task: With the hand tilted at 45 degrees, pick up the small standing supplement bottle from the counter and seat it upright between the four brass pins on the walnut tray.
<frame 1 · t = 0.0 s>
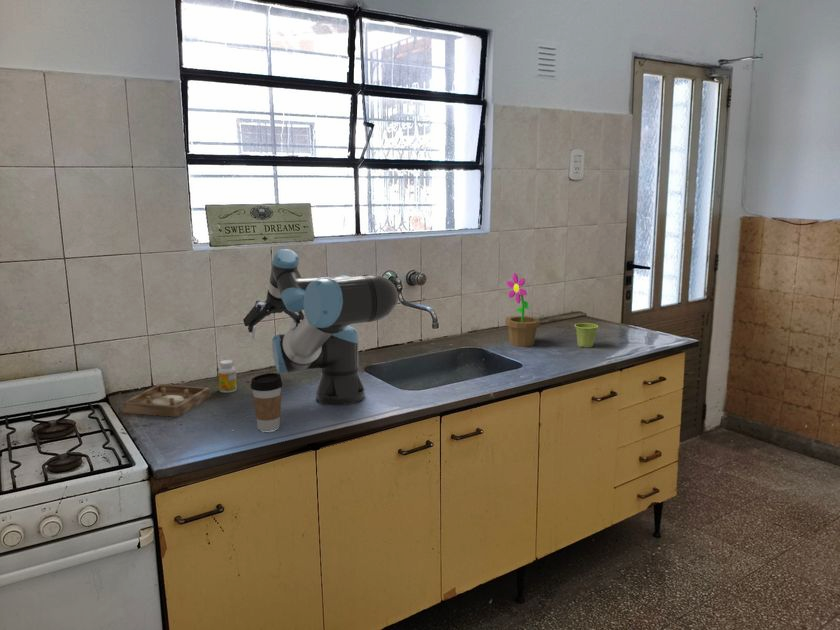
hand: (271, 335, 219), 15 cm above the worktop, tool tilted 35°, fingers open, 13 cm apart
coffee cup: (268, 429, 178), on the worktop
supplement bottle: (228, 390, 210), on the worktop
plant pot: (585, 346, 265), on the worktop
flowerpot: (521, 344, 269), on the worktop
pin tray: (168, 404, 196), on the worktop
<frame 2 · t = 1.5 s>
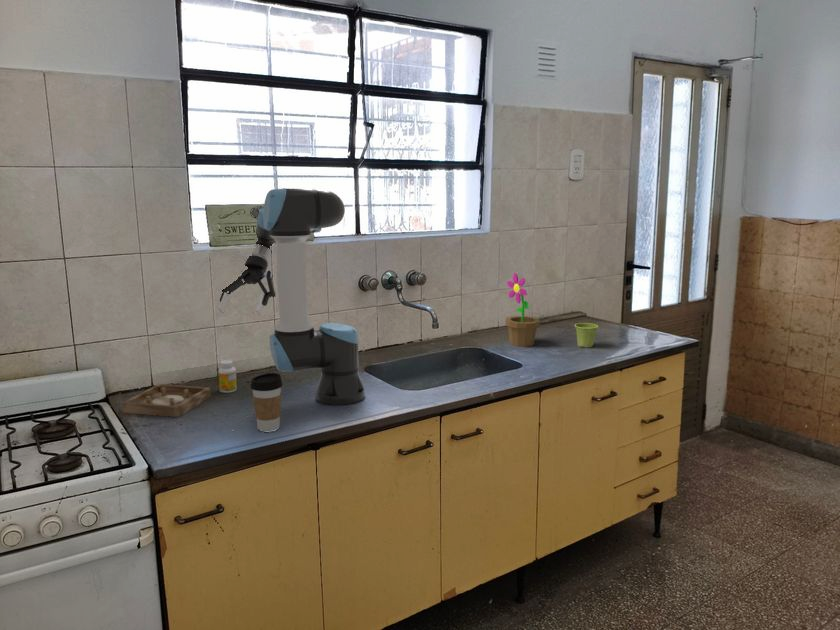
hand: (239, 311, 215), 24 cm above the worktop, tool tilted 45°, fingers open, 13 cm apart
nothing on the worktop moved.
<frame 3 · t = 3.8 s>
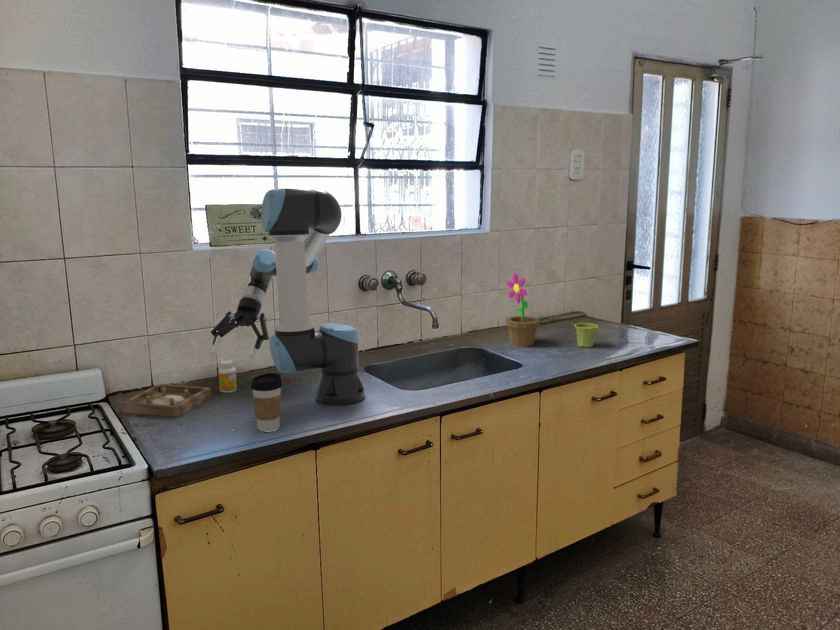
hand: (232, 355, 213), 10 cm above the worktop, tool tilted 45°, fingers open, 13 cm apart
nothing on the worktop moved.
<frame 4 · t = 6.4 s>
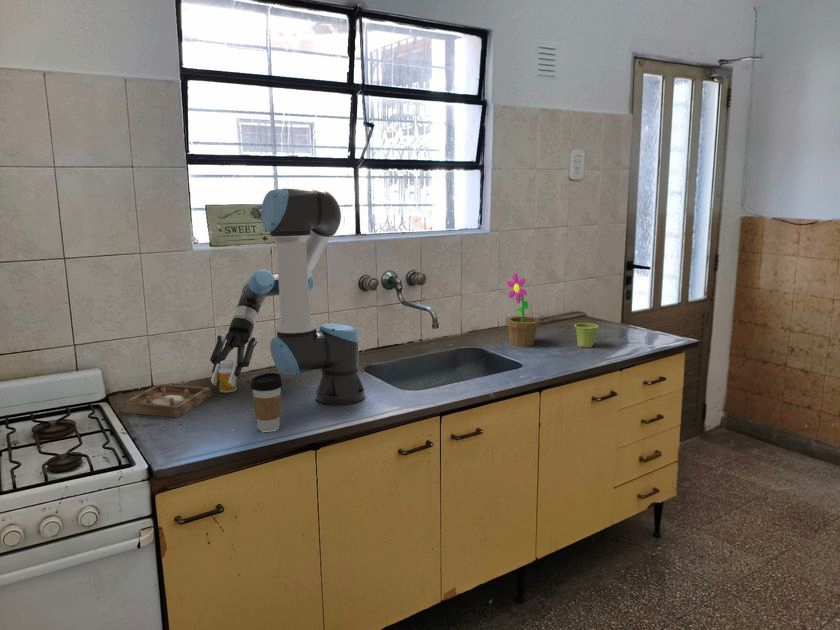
hand: (222, 383, 205), 3 cm above the worktop, tool tilted 45°, fingers closed on supplement bottle, 5 cm apart
supplement bottle: (228, 390, 210), on the worktop, touching gripper
everything else where it was.
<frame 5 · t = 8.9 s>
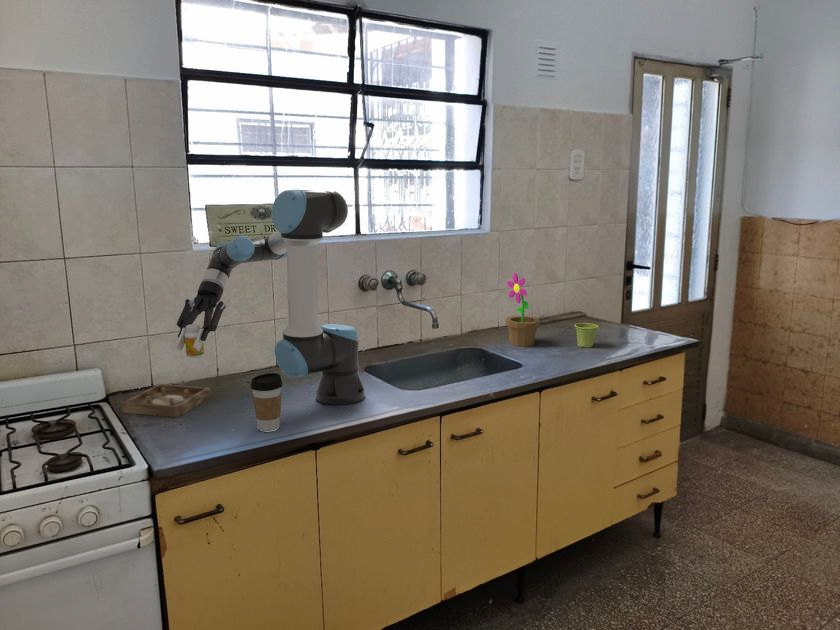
hand: (187, 348, 198), 16 cm above the worktop, tool tilted 45°, fingers closed on supplement bottle, 5 cm apart
supplement bottle: (195, 355, 203), point 13 cm above the worktop, touching gripper
everything else where it was.
when the fingers open (6 cm above the worktop, at t = 11.4 s): supplement bottle stays where it is, resting on pin tray.
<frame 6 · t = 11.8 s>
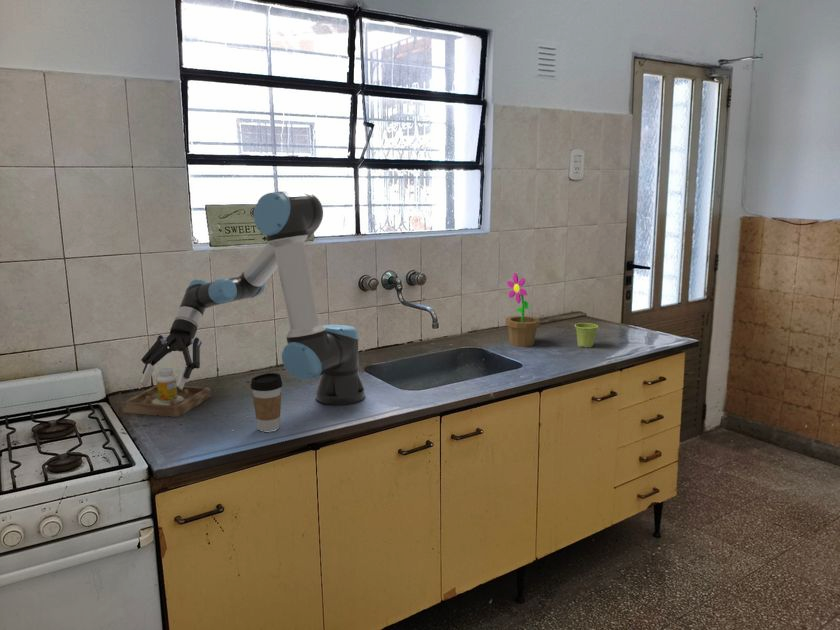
hand: (161, 386, 192), 7 cm above the worktop, tool tilted 45°, fingers open, 11 cm apart
supplement bottle: (168, 400, 196), point 1 cm above the worktop, touching pin tray
everything else where it was.
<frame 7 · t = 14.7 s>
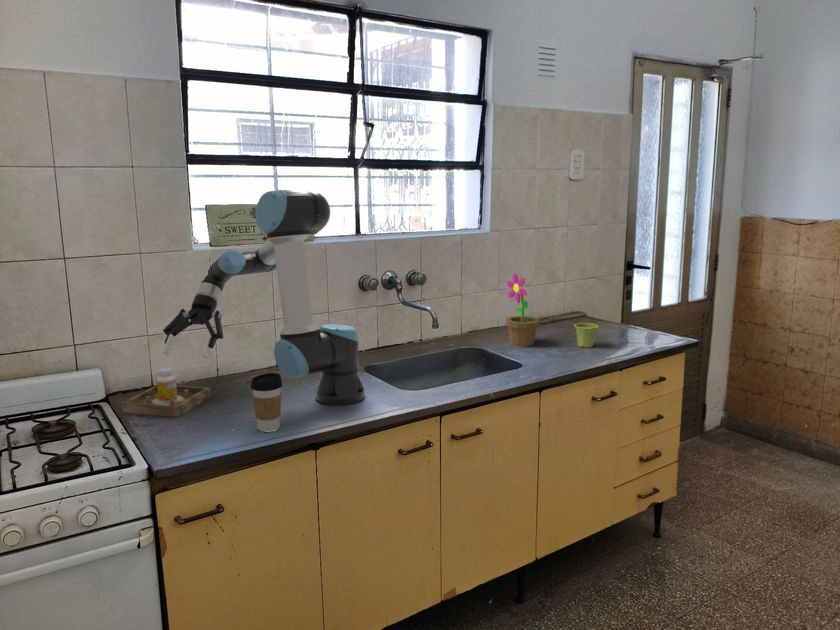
hand: (184, 355, 204), 13 cm above the worktop, tool tilted 45°, fingers open, 13 cm apart
nothing on the worktop moved.
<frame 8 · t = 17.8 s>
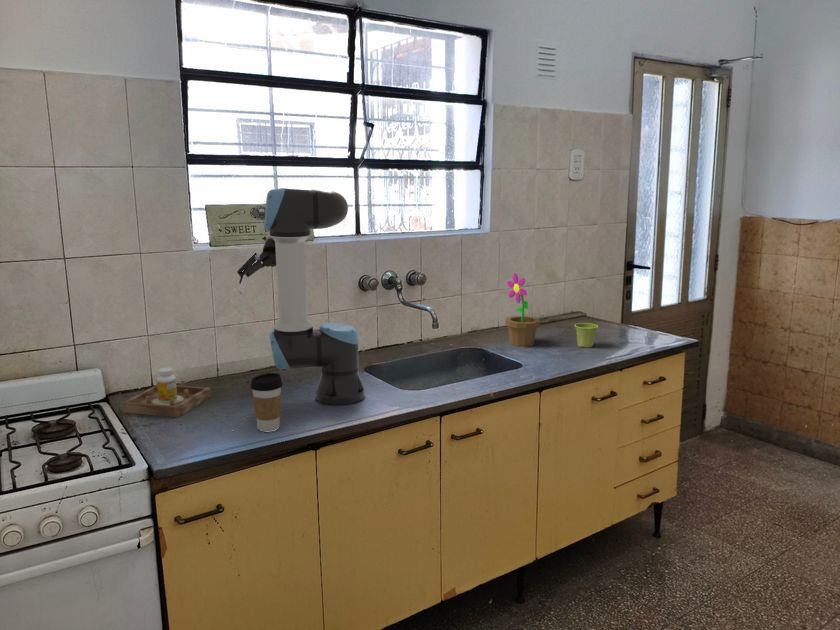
hand: (259, 293, 216), 30 cm above the worktop, tool tilted 45°, fingers open, 13 cm apart
nothing on the worktop moved.
at the end: supplement bottle 0.1 cm off-centre on the pin tray, point 1.2 cm above the pin tray's base; supplement bottle tilted 0°; the gripper is holding nothing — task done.
